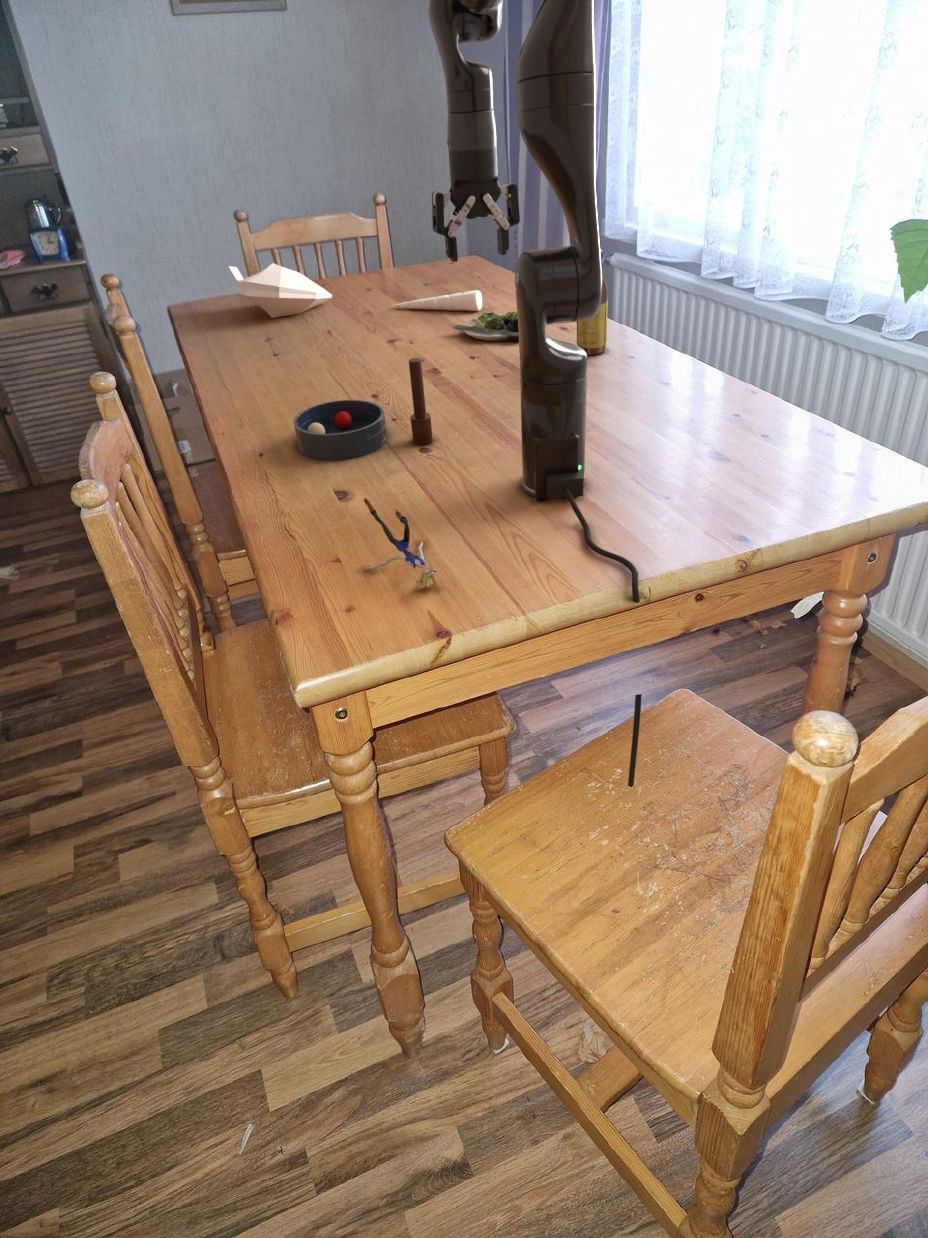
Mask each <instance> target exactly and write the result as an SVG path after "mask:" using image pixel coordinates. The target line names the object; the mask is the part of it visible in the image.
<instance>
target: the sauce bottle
mask: <svg viewBox="0 0 928 1238" xmlns="http://www.w3.org/2000/svg"><path fill="white" fill-rule="evenodd" d="M600 255H601V271H602V272H603V259H604V250H603V249H602V248H600ZM608 303H609V299H608V284H607V281H606V280H605V278H604V275H602V296H601V303H600V307H599V310H598V313H597V314H596V316H595V317H594V318H592V319H590V320H585V321H578V322H576V346H578V347H580V348H582V349H583V350H584V351H585V352H586V355H587V356H588V355H590V356H595V355H599V354H602V353H604V352H606V349H607V342H608V308H609V307H608Z"/></svg>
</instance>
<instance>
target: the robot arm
mask: <svg viewBox="0 0 928 1238" xmlns="http://www.w3.org/2000/svg"><path fill="white" fill-rule="evenodd" d="M503 4H504V0H428V4H427V5H428V6H427V17H428V21H429V25H430V29H431V33H432V35H433V39H434V42H435V45H436V49H437V51H438V56H439V58H440V62H441V66H442V71H443V76H444V80H445V81H444V83H445V90H446V91H445V92H446V93H445V95H446V109H447V122H446V123H447V124H446V128H447V129H446V133H447V134H446V135H447V139H446V145H447V148H448V149H447V151H448V162H449V163H448V165H449V179H450V180H449V181H450V189H449V191H443V192H442V191H441V192H440V191H437V190H433V191H432V193H431V215H432V216H431V218H432V231H433V232H434V233H436V234H438V235H442V236H443V237H444V243H445V245H444V246H445V255H446V257H447V259H449V260H450V262H452V263H457V262H458V260H459V257H458V256H459V255H458V245H457V244H458V242H457V240H458V239H457V237H456V234H457V232H458V230H459V229H460V227H461V226H462V225H463V223H464V221H465V219H468V220H474V219H476V218H488V216H489V217H490V218H491V219H492V220H493V221H494V222H495V224H496V225H497V226H498V229H496V241H497V244H496V245H497V254H498V255H500V256H506V255H507V252H508V251H509V250H510V229H511V227H513V226H515V225H519V224H520V222H521V215H520V214H521V213H520V202H519V190H518V189H519V188H518V185H517V184H516V183H514V182H506V183H505V184H501V185H500V183H499V180H498V177H499V170H498V169H499V168H498V167H499V166H498V144H497V125H496V117H495V110H494V82H493V80H494V79H493V71H492V69H491V66H489V65H488V64H487V63H484V62H479V61H474V60H469V59H466V58H465V57H464V55H463V54H462V52H461V50H460V47H459V44H470V43H471V44H472V43H482V42H483V43H484V42H488V41H490V40H491V39H493V38H495V37H496V36H497V35H498V34H499V32H500V30H501V27H502V21H503ZM594 5H595V4H594V0H542V1H541V4H540V6H539V8H538V10H537V12H536V14H535V17H534V19H533V21H532V23H531V25H530V27H529V30H528V32H527V34H526V36H525V38H524V41H523V44H522V46H521V49H520V52H519V55H518V59H517V63H516V95H517V98H516V99H517V113H518V114H517V117H518V127H519V132H520V135H521V137H522V138H521V139H522V140H523V142H524V144H525V146H526V148H527V150H528V152H529V153H530V155H531V157H532V159H533V160H534V162H535V163H536V165H537V166H538V167H539V170H540V172H541V173H542V175H544V177H545V179H546V181H547V182H548V183H549V185H550V187H551V188H552V190H553V191H554V194H555V195H556V198H557V200H558V202H559V204H560V207H561V209H562V212H563V214H564V217H565V222H566V225H567V230H568V238H569V245H565V246H558V247H549V248H538V249H531V250H526V251H523V252H521V253H520V254H519V256H518V258H517V262H516V264H515V269H514V270H515V271H514V274H515V275H514V289H515V290H514V291H515V303H516V304H515V305H516V311H517V316H518V331H519V341H518V353H519V355H518V356H519V374H520V375H519V378H520V379H519V381H520V382H519V383H520V428H521V430H520V431H521V432H520V433H521V465H522V466H521V467H522V471H521V472H522V473H521V474H522V477H521V488H522V490H523V491H524V492H525V493H526V494H528V495H529V496H532V497H534V498H535V501H550V500H563V499H565V500H566V499H567V501H568V502H569V503H568V504H569V505H570V506H571V509H572V510H573V512H574V514H575V516H576V518H577V519H578V521H579V523H580V524H581V527H582V529H583V533H584V540H585V542H586V544H587V546H588V547H589V548H590V549H591V550H592V551H593V552H595V553H596V554H598V555H600V556H601V557H605V558H608V559H610V560H613V561H616V562H618V563H620V564H622V565H623V566H625V567H626V568H627V569H628V570H629V572H630V573H631V594H632V601H633V602H634V603H635V604H639V603H640V602H641V599H640V591H639V572H638V569H637V568H636V566H635V565H634V564H633V563H632V562H631V561H630V560H629V559H627V558H626V557H623V556H622V555H619V554H617V553H614V552H611V551H608V550H605V549H603V548H601V547H600V546H597V544H595V542H594V541H593V540H592V535H591V530H590V527H589V524H588V522H587V521H586V519H585V516H584V515H583V513H582V511H581V510H580V508H579V506H578V505H577V501H576V500H575V499H577V498H579V497H584V489H585V487H586V474H585V473H586V472H585V469H586V433H587V432H586V431H587V430H586V428H587V427H586V426H587V425H586V424H587V393H588V390H587V388H588V354H586V352H585V351H584V350H583V349H582V348H580V347H578V346H577V344H573V343H570V342H566V341H562V340H558V339H555V338H554V337H551V336H549V335H548V334H546V326H553V325H560V324H569V323H577V322H578V321H585V320H590V319H592V318H594V317H595V316H596V314H597V313H598V310H599V307H600V303H601V296H602V276H603V270H602V271H601V255H600V249H601V245H600V244H601V243H600V232H599V230H600V229H599V217H598V205H597V186H596V185H597V184H596V183H597V182H596V181H597V180H596V179H597V177H596V125H597V123H596V122H597V118H596V117H597V78H596V77H597V76H596V72H597V71H596V50H595V49H596V48H595V47H596V45H595V22H594V21H595V13H594V9H595V8H594ZM501 194H502V198H503V199H505V202H506V213H507V214H506V215H507V216H506V217H505V216H504V213H503V212H502V210H501V209H500V207H498V205H497V202H498V200H499V198H500V197H501ZM449 201H450V203H451V204H452V205H453V206H454V207H453V209H452V211H451V213H450V215H449V219H448V221H447V223H446V224H445V208H446V207H447V206H448V202H449ZM642 697H643V696H642V694H635V697H634V712H633V713H634V714H633V723H632V724H633V727H632V737H631V749H630V759H629V770H628V781H627V787H628V786H630V787H632V786H633V785H635V777H636V776H635V775H636V766H637V765H636V764H637V756H638V755H637V754H638V746H639V735H640V725H641V711H642ZM633 787H634V786H633Z"/></svg>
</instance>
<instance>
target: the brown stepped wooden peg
mask: <svg viewBox="0 0 928 1238" xmlns="http://www.w3.org/2000/svg"><path fill="white" fill-rule="evenodd" d="M408 368H409V378H410V388H411V397H412V405H413V414H411V415H410V417H409V418H410V426H411V436H412V443H413V444H414V445H415V446H426V445H430V444H432V443H433V441H434V440H433V439H434V437H433V427H432V417H431V414H430V413H428V412H427V408H426V399H425V398H426V397H425V387H424V378H423V377H424V376H423V366H422V359H421V358H420V357H412V358H409V359H408Z"/></svg>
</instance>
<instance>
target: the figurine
mask: <svg viewBox="0 0 928 1238" xmlns="http://www.w3.org/2000/svg"><path fill="white" fill-rule="evenodd" d="M363 502H364V504H365V505H366V506H367V508H368V510H369V513H370V515H371V516H372V517H373V518H374V520H375V521H376V522H377V523H379V524H380V526H381V528H382V530H383V532H384V534H385V536H386V538H387V540H388V541H389V542H390V543H391V544H392V545H393V546H395V548H396V549H397V550H398V551H399V552H401V553H403V555H404V556H405V558H404V557H403V556H401V555H399V554H395V555H393V556H391V557H389V558H388V559H387V560H385V561H382V562H380V563H377V564H374V565H372V566H368V567H366V568H365V569H364V571H367V570H370V571H372V570H375V569H377V568H380V567H383V566H386V565H389V564H390V563H391V562H393V561H395V560H400V561H403V563H406V564H407V565H409V566H410V567H412V568H413V569H416V568H417V567H418V568H419V569H422V571H421V573H420V574H419V576H418V577H417V579H415V583H416V584H417V585H416V584H415V585H414V586H415V588H416V589H417V590H419V591H421V590H422V589H426V588H430V586H433V585H434V586H437V585H438V584H437V579H436V576H435V575H438V574H439V573H438V570H437V569H436V568H433V567H432V566H431V567H429V566H426V561H425V557H424V553H423V546H424V542H423V541H421V542H420V543H419V545H418V547H417V551H418V554H417V553H415V554H414V552H412V551H411V549H410V540H411V539H410V537H411V535H410V534H411V533H410V526H409V522H408V521H409V520H408V519H407V517H406V516H404V515H403V514H402V513H401V511H400V512H399V510H397V509H395V513H394V514H395V515H396V517H397V518H398V521H400V523H401V524H403V525H404V529H403V538H402V539H397V538H395V536H394V534H393V533H392V531H391V530H390V528H389V527H388V526H387V524H386V523H385V522H384V521H383V520H382V519H381V517H380V516H379V515H378V513H377V510H376V509H375V507H374V505H373V504H372V503H371V501H370V500H369V499H368V498H366V497H364V498H363ZM425 603H426V604H427V603H428V602H427V601H426V602H425Z"/></svg>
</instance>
